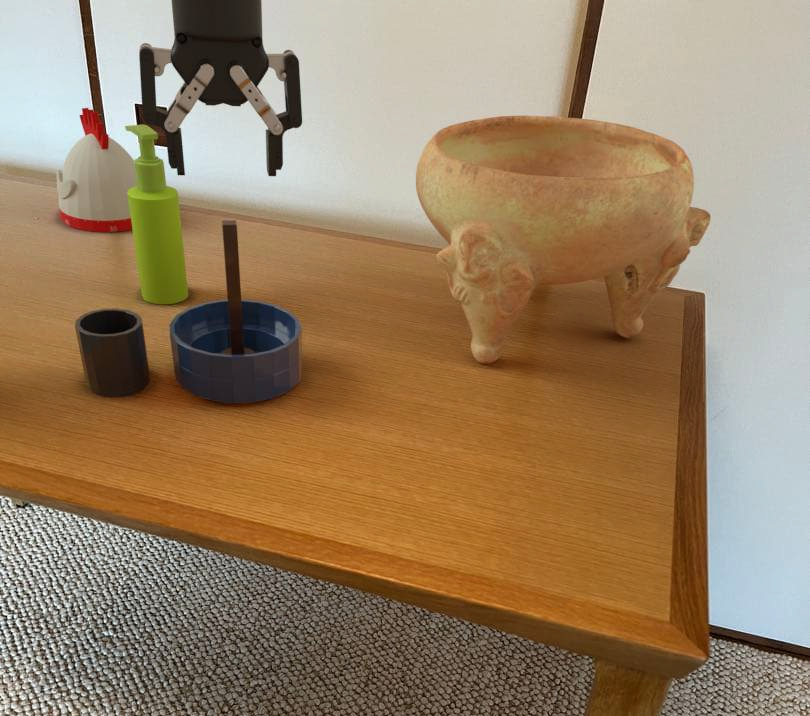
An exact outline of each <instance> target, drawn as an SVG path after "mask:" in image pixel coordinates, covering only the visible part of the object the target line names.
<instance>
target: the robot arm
mask: <svg viewBox="0 0 810 716" xmlns="http://www.w3.org/2000/svg"><path fill="white" fill-rule="evenodd" d="M262 4H263V3H262V0H171V9H172V10H171V11H172V21H173V22H172V23H173V34H174V40H173V44H172V46H171V48H166V47H165V48H163V47H156V46H152V45H151V44H150V43H147V42H144V43H142V44H141V45H140V46H139V52H138V53H139V54H138V58H139V71H140V72H139V75H140V92H141V93H140V95H141V111H142V120H143V121H144V123H145V124H146V125H151V126H152V125H154V126H156V127H159V128H160V129H162V130H163V132H164V135H165V140H166V149H167V160H168V165H169V166H170V169H171V170H172V169H173V170H176V173H177V174H176V175H177V176H186V171H185V170H186V169H185V158H184V149H183V147H184V146H183V137H182V128H181V127H180V126H181V124H182V123H183V122H184V121H185V119H186V117H187V115H188V114H190V112H191V111H192V109H193V108H194V106H195V105H196V103H197V102H198V101H199V102H201V103H203V104H205V106H219V105H222V104H225V105H228V106H231V107H242V105H244V104H246V103H247V102H249V104H250V105H251V107H252V109H254V111H255V112H256V114H257V115H258V116H259V117H260V118H261V120H262V121H263V123H264V124H265V125H266V127H267V129H265V153H266V154H265V155H266V172H267V176H268V177H277V171H281V170H282V168H283V165H284V147H283V146H284V140H283V137H284V134H285V133H286V132H287V131H289V130H291V129H299V128H301V126H302V124H303V109H302V91H301V74H300V73H301V72H300V60H299V57H297V55H296V54H295V52H294V51H293V50H291V49H286V50H285V51H284V52H283V53H267V52H266V50H265V47H264V39H263V8H262V7H263V6H262ZM168 64H171V65H172V67H173V69H174V70H175V71H176V72H177V74H178V75H179V76H180V78H181V79H182V80H183V83H182V85H181V87H180V88H179V89H178V91H177V92H176V95H175V97H174V99H173V100H172V102H171V104H170V105H169V107H168V108H167V110H165V109H163V108H161V107H158V106H157V91H156V90H157V89H156V77H161V76H162V75H163V74H164V72H165V67H166V66H167V65H168ZM269 68H270V69H273V71H274V73H275V76H276V77H277V79H278V80H279V81H280V82H283V89H284V103H285V111H283V112H280V113H276V111H275V110H274V108H273V107H272V106H271V104H270V103H269V101H268V100H267V98H266V97H265V95H264V94H263V93H262V91H261V90H260V88H259V87H258V86H259V85H260V83H261V81H262V80H263V78H264V77H265V76H266V74H267V72H268V70H269Z"/></svg>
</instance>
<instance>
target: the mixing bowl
mask: <svg viewBox="0 0 810 716" xmlns="http://www.w3.org/2000/svg"><path fill="white" fill-rule="evenodd" d="M241 303H242V319H243V336H244V347H245V348H249V349H251V350H253V351H254V352H255V354H244V355H226V354H220V353H221V352H222V351H223V350H225V349H228V348H231V342H230V328H229V314H228V300H227V299H219V300H212V301H207V302H202V303H199V304H196V305H193V306H189V307H187V308H184V310H181V312H179V313H178V314H176V315H174V317H173V318H172V320H171V321H170V323H169V338H170V339H169V340H170V348H171V356H172V364H173V372H174V378H175V380H176V382H177V383H178V384H179V386H180V387H181V388H182V389H183V390H185V391H186V392H188V393H190V394H192V395H193V396H196V397H199V398H202V399H206V400H209V401H213V402H218V403H228V404H229V403H230V404H243V403H247V404H248V403H258V402H261V401H266V400H270V399H274V398H277V397H279V396H281V395H284V394H286V393H287V392H289V391H291V390H292V389H293V388H294V387H295V386H296V385H298V383H299V382H300V381H301V378H302V375H303V327H302V324H301V320H300V319H299V318H298V317H297V316H296V315H295V314H294V313H292V312H291V310H287V309H285V308H283V307H281V306H280V305H276V304H272V303H269V302H265V301H260V300H252V299H244V298H241Z"/></svg>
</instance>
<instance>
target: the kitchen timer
mask: <svg viewBox="0 0 810 716" xmlns="http://www.w3.org/2000/svg"><path fill="white" fill-rule="evenodd" d="M81 112H82V114H79V120H80V123H81V126H82V129H83V130H82V131H83V133H84V136H83V137H81V138H80V139H79V140H78V141H76V142H75V144H74V145H73V146H72V147H71V148H70V150H69V152H68V153H67V155H66V158H65V160H64V162H63V166H62V170H60V169H56V170H55V172H56V174H55V175H56V191H57V195H58V209H59V214H60V218H61V219H60V220H61V221H62V222H63V223H64V224H65V225H67V226H68V227H71V228H74V229H77V230H81V231H86V232H94V233H95V232H97V233H115V232H124V231H125V232H126V231H133V229H132V222H131V215H130V208H129V201H128V194H127V192H128V190H129V189H130V188H133V187H135V186H137V180H136V173H135V165H134V161H135V159H134V158H133V157H132V156H131V155H130V153H129V152H128V151H127V150H126V149H125V148H124V147H123V146H122V145H121V144H119V143H118V142H117V141H116V140H115V139H113V138H111V136H110V135H109V133H106V134H105V129H104V122H100V119H99V114H98V111H94V108H93V109H89V107H82V108H81Z"/></svg>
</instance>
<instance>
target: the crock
mask: <svg viewBox="0 0 810 716" xmlns="http://www.w3.org/2000/svg"><path fill="white" fill-rule="evenodd" d="M74 322H75V323H74V329H75V334H76V340H77V344H78V349H79V354H80V358H81V359H80V360H81V365H82V368H83V369H82V370H83V372H84V378H85V382H86V385H87V388H88V389H89V390H90V391H91V392H92V393H93V394H96V395H98V396H102V397H108V398H109V397H110V398H119V397H128V396H131V395H136V394H137V393H141V392H143V391H144V390H145V389H147V387H149V385H150V384H151V371H150V366H149V359H148V352H147V351H148V350H147V343H146V338H145V337H146V336H145V330H144V322H143V317H141V315H139V314H138V313H137V312H135V311H131V310H129V309H123V308H116V307H115V308H100V309H95V310H91V311H89V312H86V313H83V314H81V315H80V316H79V317H78V318H76V320H75V321H74Z"/></svg>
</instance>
